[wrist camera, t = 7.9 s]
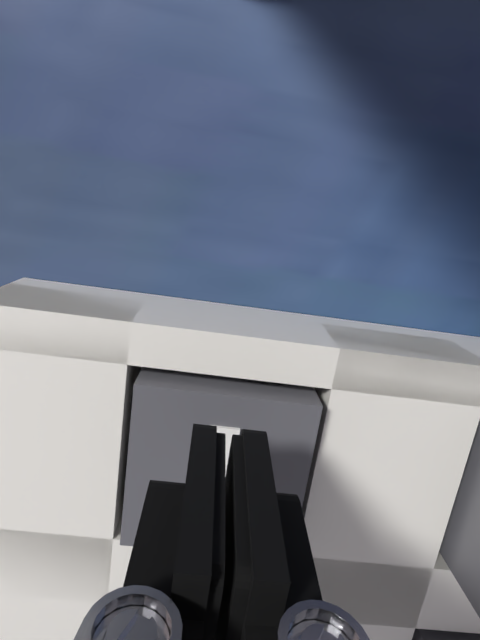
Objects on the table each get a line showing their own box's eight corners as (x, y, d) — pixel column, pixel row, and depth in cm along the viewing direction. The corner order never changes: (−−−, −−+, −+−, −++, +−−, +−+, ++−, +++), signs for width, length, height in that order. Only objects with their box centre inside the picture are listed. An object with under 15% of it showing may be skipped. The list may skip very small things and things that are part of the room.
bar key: (151, 347, 14) (132, 386, 11) (303, 365, 15) (323, 408, 12) (138, 481, 16) (118, 547, 13) (279, 495, 16) (291, 563, 13)
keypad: (23, 277, 15) (-43, 303, 11) (693, 364, 16) (828, 412, 13) (17, 650, 19) (-33, 760, 15) (553, 690, 20) (625, 797, 17)
